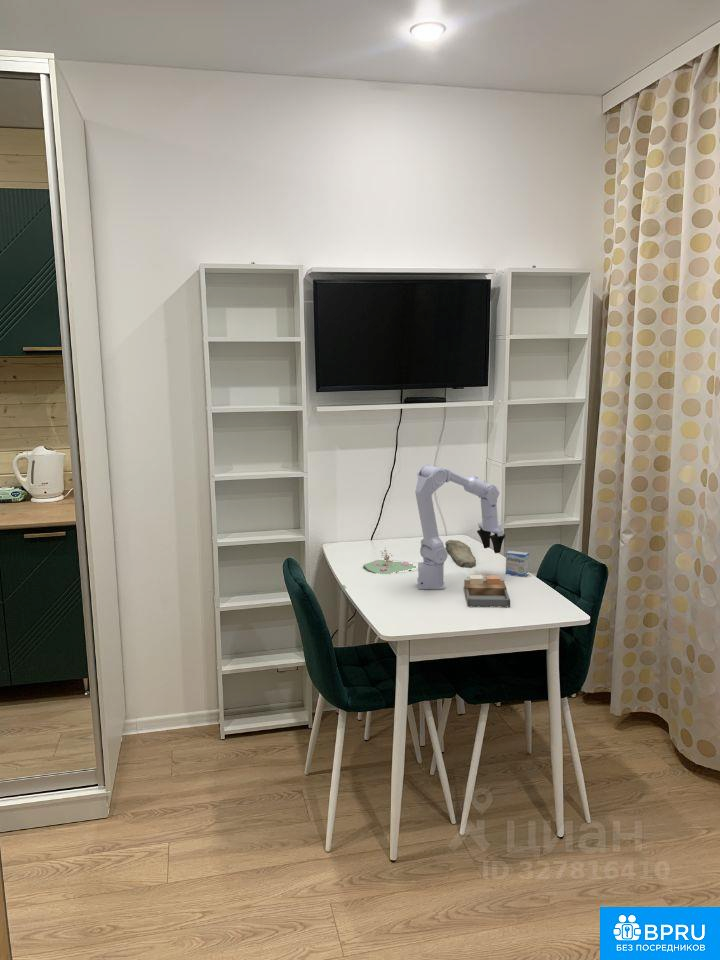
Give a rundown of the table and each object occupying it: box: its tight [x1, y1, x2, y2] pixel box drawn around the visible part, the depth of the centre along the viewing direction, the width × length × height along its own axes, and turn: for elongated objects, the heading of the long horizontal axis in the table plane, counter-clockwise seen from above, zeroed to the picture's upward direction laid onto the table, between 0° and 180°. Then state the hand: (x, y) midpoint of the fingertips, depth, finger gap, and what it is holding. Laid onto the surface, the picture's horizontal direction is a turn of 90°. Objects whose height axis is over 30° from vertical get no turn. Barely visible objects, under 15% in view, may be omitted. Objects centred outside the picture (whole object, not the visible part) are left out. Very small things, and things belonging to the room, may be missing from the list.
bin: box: [465, 589, 511, 608], centre depth 254 cm, size 14×11×2 cm
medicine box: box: [505, 550, 530, 577], centre depth 284 cm, size 8×4×9 cm, turn 62°
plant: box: [363, 548, 416, 575], centre depth 297 cm, size 25×21×9 cm
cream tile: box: [468, 574, 484, 584], centre depth 265 cm, size 4×4×2 cm
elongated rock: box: [445, 539, 477, 569], centre depth 311 cm, size 35×5×10 cm
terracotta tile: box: [485, 574, 501, 584], centre depth 265 cm, size 4×4×2 cm
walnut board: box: [463, 579, 508, 596], centre depth 264 cm, size 14×9×3 cm, turn 85°
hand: (492, 550), depth 281 cm, fingers open, 7 cm apart
